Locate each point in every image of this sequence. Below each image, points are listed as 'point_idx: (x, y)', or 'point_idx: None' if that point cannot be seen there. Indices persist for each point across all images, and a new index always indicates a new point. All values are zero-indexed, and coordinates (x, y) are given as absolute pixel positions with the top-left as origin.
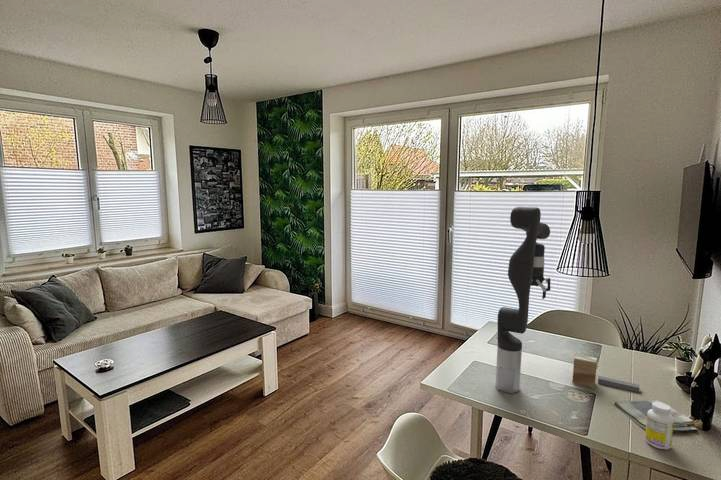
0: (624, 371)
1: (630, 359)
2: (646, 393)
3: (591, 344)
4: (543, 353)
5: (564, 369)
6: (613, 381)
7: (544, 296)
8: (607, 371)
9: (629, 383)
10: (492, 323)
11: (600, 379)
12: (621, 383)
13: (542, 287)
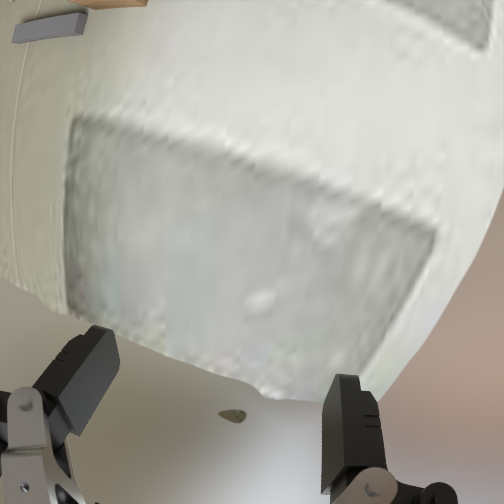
0: (23, 138)
1: (14, 230)
2: None
3: (86, 310)
4: (223, 184)
5: (161, 59)
6: (50, 20)
7: (76, 349)
8: (52, 114)
9: (24, 35)
10: None
11: (75, 13)
12: (38, 22)
13: (25, 449)
